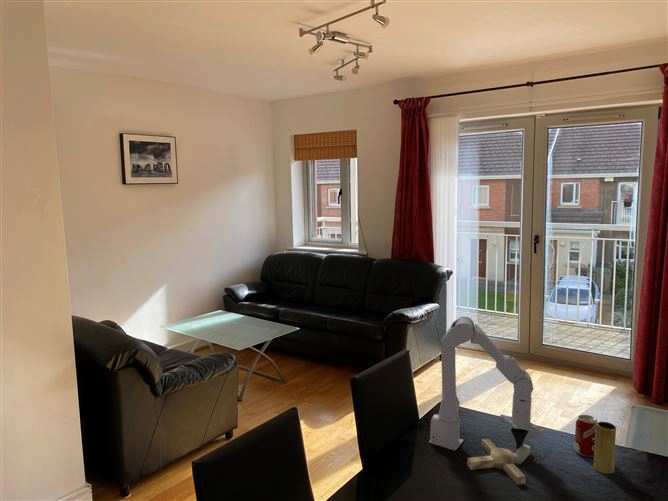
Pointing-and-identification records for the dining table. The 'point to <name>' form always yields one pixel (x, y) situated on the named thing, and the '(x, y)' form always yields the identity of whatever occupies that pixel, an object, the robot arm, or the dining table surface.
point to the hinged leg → (522, 454)
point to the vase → (605, 448)
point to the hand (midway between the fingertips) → (519, 448)
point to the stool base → (497, 461)
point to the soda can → (585, 435)
